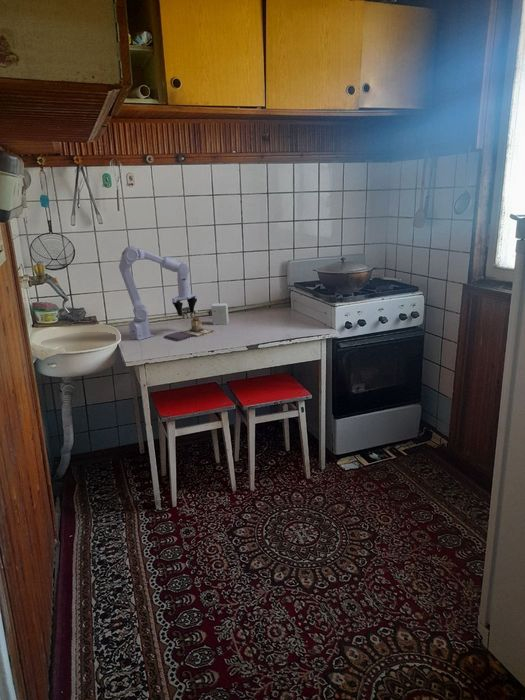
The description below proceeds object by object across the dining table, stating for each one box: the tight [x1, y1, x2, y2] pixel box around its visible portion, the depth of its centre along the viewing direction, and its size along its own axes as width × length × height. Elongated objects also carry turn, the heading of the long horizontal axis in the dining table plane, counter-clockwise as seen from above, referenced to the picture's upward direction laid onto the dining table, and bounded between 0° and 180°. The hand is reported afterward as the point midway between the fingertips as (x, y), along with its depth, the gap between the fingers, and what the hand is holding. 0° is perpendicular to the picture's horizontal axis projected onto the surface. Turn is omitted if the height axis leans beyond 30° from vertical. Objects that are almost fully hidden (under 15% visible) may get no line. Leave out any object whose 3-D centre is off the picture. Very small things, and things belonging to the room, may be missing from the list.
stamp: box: [189, 316, 205, 333], centre depth 249 cm, size 5×5×7 cm
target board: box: [179, 327, 215, 338], centre depth 250 cm, size 11×13×1 cm
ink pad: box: [163, 331, 194, 342], centre depth 243 cm, size 9×11×1 cm
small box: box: [210, 302, 230, 326], centre depth 264 cm, size 8×6×10 cm
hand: (185, 314), depth 249 cm, fingers open, 7 cm apart
